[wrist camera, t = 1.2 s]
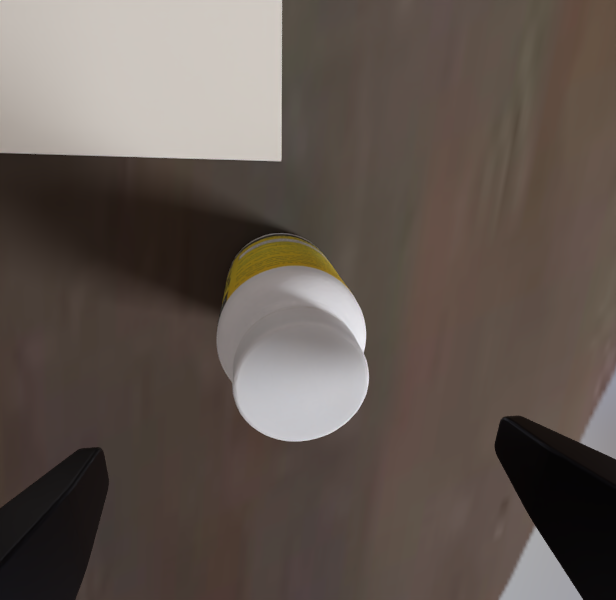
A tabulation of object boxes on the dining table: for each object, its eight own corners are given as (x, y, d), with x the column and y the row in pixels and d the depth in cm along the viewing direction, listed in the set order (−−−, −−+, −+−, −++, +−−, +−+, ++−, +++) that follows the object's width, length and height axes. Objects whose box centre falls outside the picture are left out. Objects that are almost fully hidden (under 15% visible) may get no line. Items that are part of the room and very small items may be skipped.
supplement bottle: (212, 247, 19) (177, 328, 10) (317, 218, 19) (378, 271, 10) (244, 341, 21) (241, 482, 12) (339, 314, 21) (408, 431, 12)
